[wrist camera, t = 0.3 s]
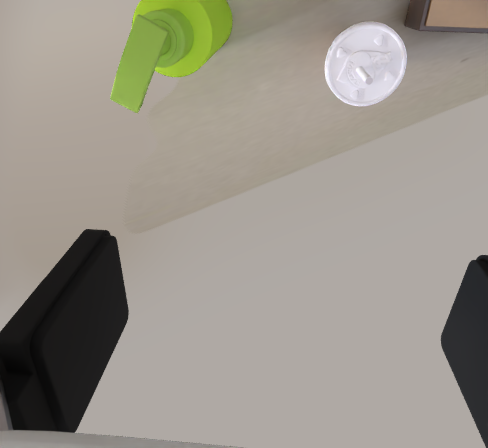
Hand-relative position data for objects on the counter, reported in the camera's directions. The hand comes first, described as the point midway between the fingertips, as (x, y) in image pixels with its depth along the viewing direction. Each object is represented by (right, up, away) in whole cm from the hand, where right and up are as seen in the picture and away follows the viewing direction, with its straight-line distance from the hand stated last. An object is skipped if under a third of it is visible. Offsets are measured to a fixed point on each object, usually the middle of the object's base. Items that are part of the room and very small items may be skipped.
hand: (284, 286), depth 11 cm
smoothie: (+10, +19, +29) cm, 37 cm away
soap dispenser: (-5, +22, +29) cm, 37 cm away
